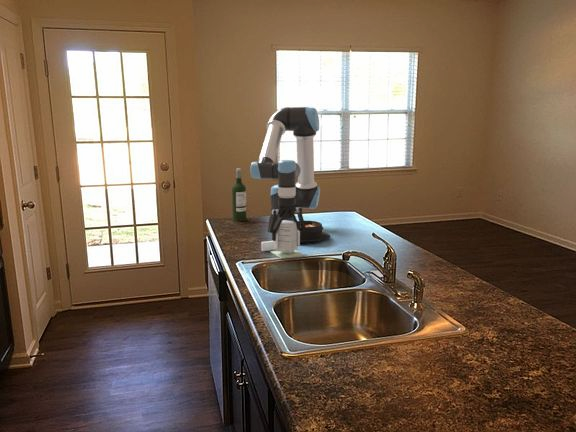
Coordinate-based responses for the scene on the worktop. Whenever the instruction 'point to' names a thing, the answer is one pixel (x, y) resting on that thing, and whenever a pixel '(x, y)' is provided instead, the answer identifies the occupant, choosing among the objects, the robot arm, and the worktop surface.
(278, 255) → the sage mat
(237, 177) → the wine bottle
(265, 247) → the acrylic wall
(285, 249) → the supplement box
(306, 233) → the casserole
